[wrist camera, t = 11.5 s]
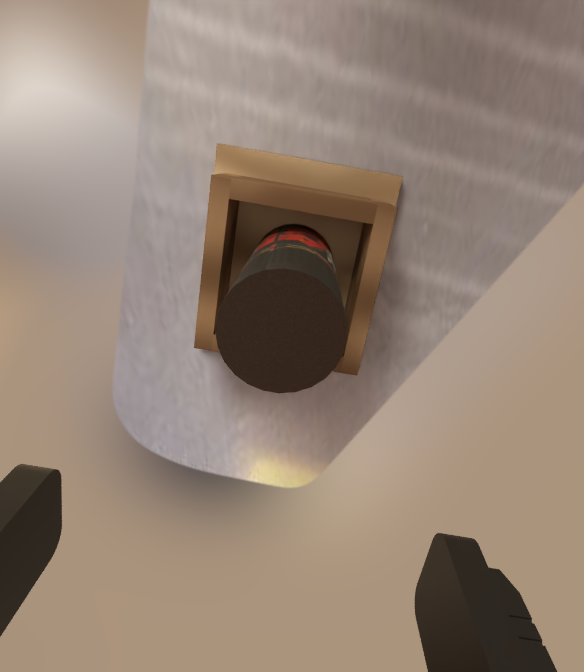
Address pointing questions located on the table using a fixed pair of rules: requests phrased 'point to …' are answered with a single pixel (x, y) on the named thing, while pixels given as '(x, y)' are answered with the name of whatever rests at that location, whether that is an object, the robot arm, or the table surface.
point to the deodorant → (284, 313)
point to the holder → (305, 209)
